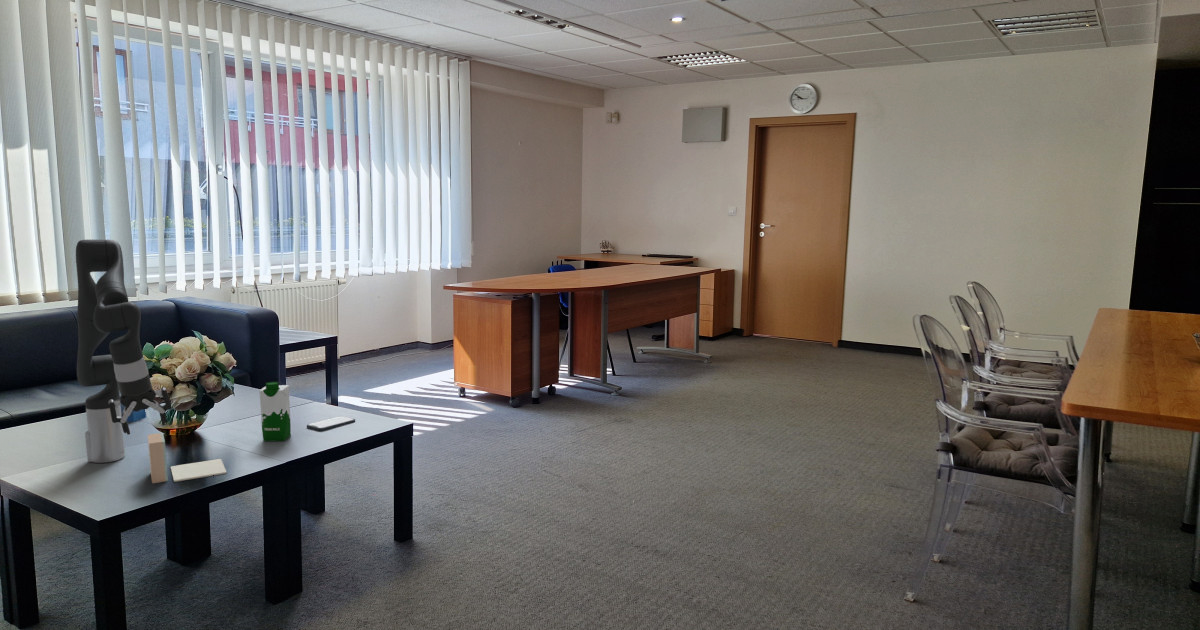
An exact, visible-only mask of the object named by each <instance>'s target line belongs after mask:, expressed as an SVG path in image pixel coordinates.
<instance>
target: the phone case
mask: <svg viewBox="0 0 1200 630" xmlns="http://www.w3.org/2000/svg"><path fill="white" fill-rule="evenodd" d="M355 422H356V418H352V417H347V416H343V415H340V416H335V417H332V418H328V419H323V420H320V421H316V422H312V423H308V424H307V425H306V429H308V430H312V431H316V432H325V431H328V430H332V429H335V428H338V427H343V426H346V425H350V424H354V423H355Z"/></svg>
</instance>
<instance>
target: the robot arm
mask: <svg viewBox="0 0 1200 630" xmlns="http://www.w3.org/2000/svg"><path fill="white" fill-rule="evenodd" d="M75 264H76V275H77V276H76V277H77V331H78V332H77V334H78V343H77V345H78V346H77V347H78V349H77V359H76V360H77V361H76V377H77V382H78V384H79V385H80V386H81V387H86V388H87V387H94V386H95V387H97V386H105V387H104V388H103V389H101V390H100V391H99V392H96V393H95V394H92V395H91V396H88V397H87V398H86V399H85V403H84V404H85V412H86V414H85V415H86V422H87V423H86V425H87V431H85V433H84V436H85V446H86V448H85V449H86V457H87V458H86V459H87V463H94V464H95V463H97V464H103V463H111V462H116V461H119V460H121V459H123V458H125V456H126V453H125V442H124V434H126V435H127V436H128V435H130V434H131V431H130V427H129V423H128V421H127V418H128V416H129V415H130V414H131V412H132V411H135V412H137V411H139V410H145V409H146V410H148V409H149V408H151V409H153V410H154V411H157V412H158V413H159V417H160V421H161V425H162V426H166V424H167V423H168V418H167V414H166V412H167V411H169V410H171V409H172V404H171V401H170V397H169V394H168V391H167V388H166V386H165V387H164V386H163V387H161V388H160V389H158V390H154V388H153V386H152V381H151V378H150V373H149V369H148V366H147V363H146V360H145V358H144V354H143V349H142V345H141V341H140V331H141V330H140V327H141V319H142V317H141V316H142V314H141V310H140V307H139V306H138V305H137V304H136V303H134V302H132V301H129V296H128V294H127V290H126V285H125V270H124V269H125V268H124V256H123V250H122V247H121V245H120V243H119V242H118V241H117V240H114V239H82V240H78V242H77V243H76V246H75ZM96 272H97V273H98V272H99V273H101V272H104V274H102V275H101V276H100V278H98V280H97V282H95V280H94V278H93V276H92V275H91V273H96ZM126 330H128V331H126ZM121 331H126V333H125V334H124V335H122V336H120V337H118V338H115V339H113V340H111V341H110V342H109V347H108V348H109V351H110V352H109V353H110V354H103V355H94V353H95V351H96V349H97V348H98V346H99V345H101V343H102V342H103V341H104V340H105V339H106V337H107V336H109V334H110V333H116V332H121ZM156 396H158V397H159V398H163V401H164V405H161V403H158V401H156V400H155V398H156ZM120 403H121V404H122V405H124V406H125V409H124V411H123V413H122V415H121V405H120Z"/></svg>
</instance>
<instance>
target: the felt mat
mask: <svg viewBox="0 0 1200 630" xmlns="http://www.w3.org/2000/svg"><path fill="white" fill-rule="evenodd" d="M170 471H171V476H172V479H173V482H174V483H175V482H183V481H188V480H194V479H200V478H207V477H214V476H218V475H225V474H227V473H228V472H227V469H226V467H225V465H224V462H223V460H222V458H218V459H211V460H210V459H209V460H204V461H198V462H191V463H190V462H189V463H185V464H177V465H173V466H170ZM213 475H214V476H213Z"/></svg>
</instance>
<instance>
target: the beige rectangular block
mask: <svg viewBox="0 0 1200 630" xmlns="http://www.w3.org/2000/svg"><path fill="white" fill-rule="evenodd" d="M147 445H148V458H149V459H148V461H149V472H150V473H149V474H150V477H151V478H150V479H151V483H152V484H157V483H164V482H168V481H169V480H168V479H169V478H168V464H167V451H166V441H165V436H164V434H163V432H159V433H152V434H151V433H150V434H147Z"/></svg>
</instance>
